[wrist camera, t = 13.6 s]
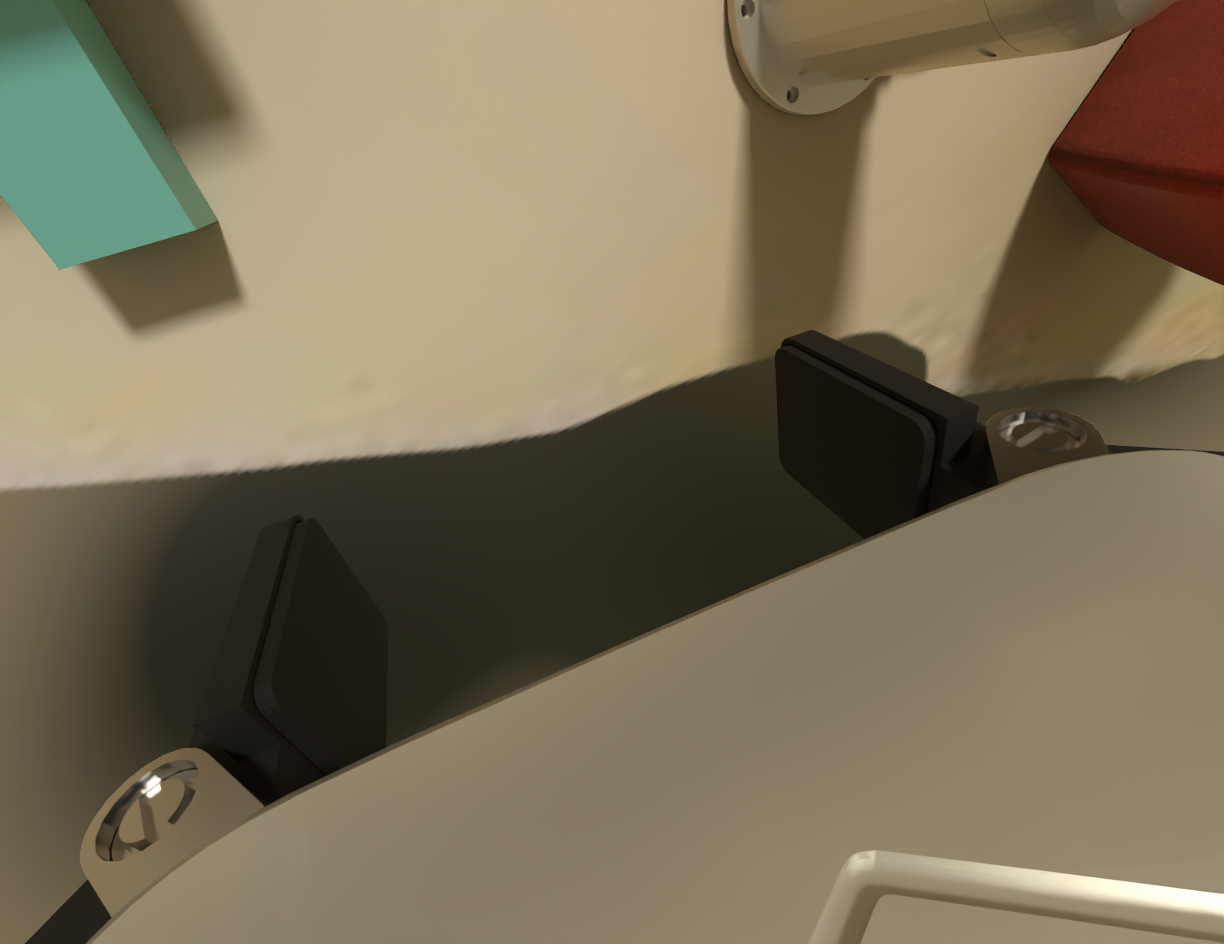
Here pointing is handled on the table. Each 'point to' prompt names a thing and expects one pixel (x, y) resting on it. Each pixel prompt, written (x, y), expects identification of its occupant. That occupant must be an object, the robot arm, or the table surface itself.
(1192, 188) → the plant pot
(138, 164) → the teal flat plank
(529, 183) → the table surface
